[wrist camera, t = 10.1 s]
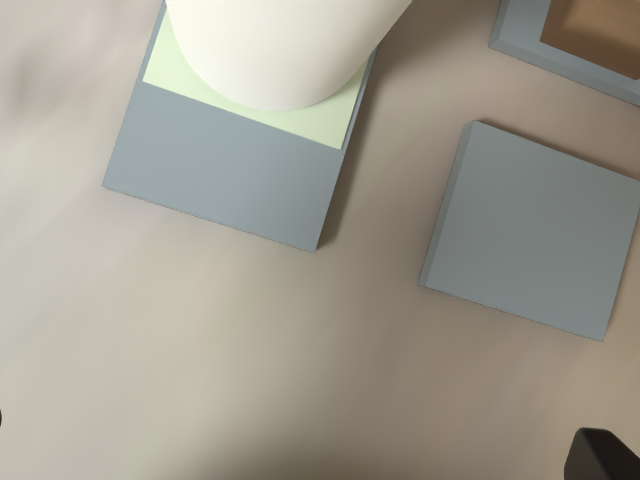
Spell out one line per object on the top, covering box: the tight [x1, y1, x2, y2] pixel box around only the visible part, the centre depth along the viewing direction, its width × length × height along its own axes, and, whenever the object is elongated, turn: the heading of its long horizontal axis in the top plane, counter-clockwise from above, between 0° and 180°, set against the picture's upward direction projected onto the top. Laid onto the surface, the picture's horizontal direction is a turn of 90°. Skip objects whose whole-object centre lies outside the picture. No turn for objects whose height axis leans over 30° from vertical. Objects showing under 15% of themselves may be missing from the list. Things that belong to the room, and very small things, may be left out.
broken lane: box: [418, 0, 640, 342], centre depth 21 cm, size 14×7×1 cm, turn 163°
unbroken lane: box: [101, 0, 379, 253], centre depth 19 cm, size 14×7×1 cm, turn 163°
